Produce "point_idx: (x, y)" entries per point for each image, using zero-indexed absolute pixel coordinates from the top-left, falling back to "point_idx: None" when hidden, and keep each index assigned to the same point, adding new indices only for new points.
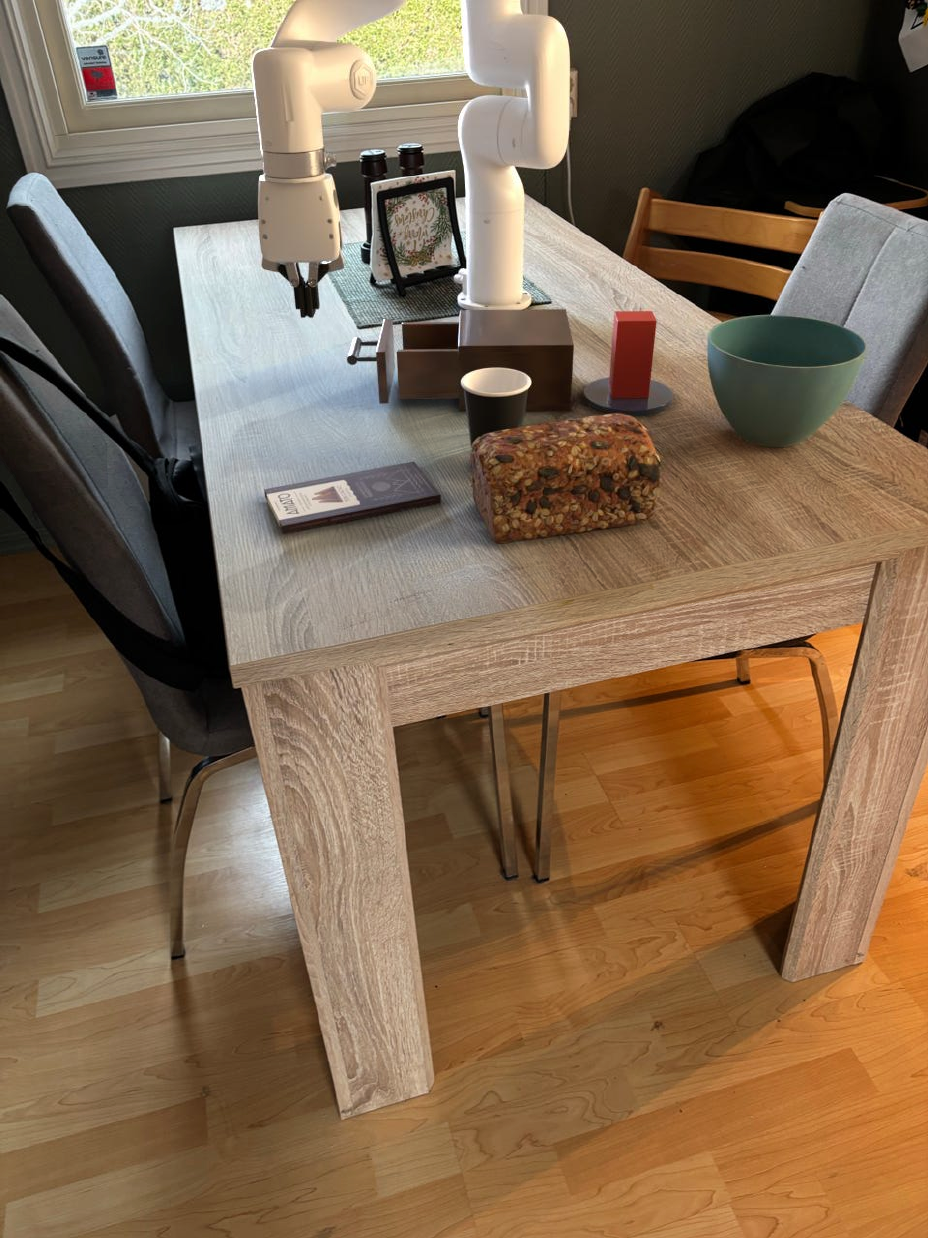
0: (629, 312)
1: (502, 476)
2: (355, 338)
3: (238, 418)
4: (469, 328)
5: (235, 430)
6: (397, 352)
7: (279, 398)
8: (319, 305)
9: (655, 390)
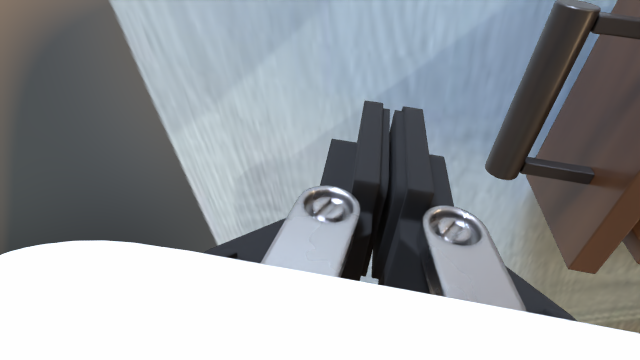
0: None
1: None
2: (573, 25)
3: (226, 146)
4: None
5: (234, 191)
6: (638, 262)
7: (295, 59)
8: (441, 156)
9: None
